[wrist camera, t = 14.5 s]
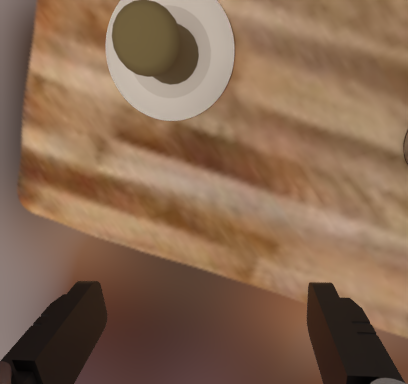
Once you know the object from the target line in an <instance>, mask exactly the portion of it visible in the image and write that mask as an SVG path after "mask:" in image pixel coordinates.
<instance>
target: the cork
mask: <svg viewBox="0 0 408 384" xmlns="http://www.w3.org/2000/svg"><path fill="white" fill-rule="evenodd" d="M112 41H113V47H114V50H115V52H116V54H117V56H118V58H119V60H120V61H121V62H122V63H123V64H124V65H125V67H126V68H127V69H129V70H130V71H132V72H134V73H135V74H137V75H142V76H146V77H152V76H153V77H154V78H155V79H157V80H158V81H160V82H162V83H165V84H169V85H172V84H179V83H181V82H183V81H186V80H187V79H188V78H189V77H190V76H191V75H192V74H193V72H194V70H195V69H196V67H197V63H198V58H199V53H198V45H197V43H196V40H195V38H194V36H193V35H192V34H191V33H190V31H189V30H188V29H186V28H185V27H183V26H182V25H180V24H178V23H177V22H176V20H175V18H174V17H173V16H172V15H171V13H170V12H169V11H168V10H167V8H165V7H164V6H162V5H161V4H159V3H157V2H154V1H150V0H136V1H132V2H131V3H129V4H127V5H125V6H124V7H123V8H122V9H121V10H120V12H119V13H118V14H117V16H116V18H115V21H114V23H113V28H112Z"/></svg>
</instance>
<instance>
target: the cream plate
mask: <svg viewBox="0 0 408 384" xmlns="http://www.w3.org/2000/svg"><path fill="white" fill-rule="evenodd" d="M132 1H136V0H121V1H120V2H119V4H118V5H117V6H116V8H115V10H114V12H113V14H112V16H111V19H110V22H109V25H108V30H107V34H106V57H107V63H108V67H109V71H110V74H111V76H112V79H113V81H114V83H115V85H116V87H117V88H118V90H119V91H120V93H121V94H122V96H123V97H124V98H125V99H126V100H127V101H128V102H129V103H130V104H131V105H132V106H133V107H134V108H136V109H137V110H139V111H140V112H142V113H144V114H145V115H147V116H150V117H153V118H156V119H160V120H166V121H179V120H185V119H188V118H192V117H194V116H196V115H198V114H200V113H202V112H203V111H205V110H207V109H208V108H209V107H210V106H211V105H213V104H214V103H215V102H216V100H217V99H218V98H219V97H220V96H221V94H222V93H223V91H224V90H225V88H226V86H227V84H228V82H229V79H230V76H231V73H232V69H233V64H234V38H233V33H232V29H231V25H230V23H229V20H228V17H227V16H226V14H225V12H224V10H223V8H222V7H221V5H220V4H219V3H218V1H217V0H150V1H154V2H157V3H159V4H161V5H162V6H164V7H165V8H167V10H168V11H169V12H170V13H171V15H172V16H173V17H174V18H175V20H176V22H177V23H178V24H180V25H182V26H183V27H185V28H186V29H188V30H189V31H190V33H191V34H192V35H193V36H194V38H195V40H196V43H197V45H198V53H199V58H198V63H197V67H196V69H195V70H194V72H193V74H192V75H191V76H190V77H189V78H188V79H187V80H186V81H183V82H181V83H179V84H172V85H169V84H165V83H162V82H160V81H158V80H157V79H155V78H154V77H153V76H152V77H146V76H142V75H137V74H135V73H134V72H132V71H130V70H129V69H127V68H126V67H125V65H124V64H123V63H122V62H121V61H120V60H119V58H118V56H117V54H116V52H115V50H114V47H113V41H112V28H113V23H114V21H115V18H116V16H117V14H118V13H119V12H120V10H121V9H122V8H123V7H124V6H125V5H127V4H129V3H131V2H132Z"/></svg>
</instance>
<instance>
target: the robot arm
mask: <svg viewBox="0 0 408 384" xmlns="http://www.w3.org/2000/svg"><path fill="white" fill-rule="evenodd" d="M404 155H405V159H406V161H407V163H408V133H407V135H406V139H405V143H404ZM106 322H107V310H106V306H105V302H104V298H103V294H102V289H101V285H100V283H99V282H98V281H78V282H77V283H76V284H75V285H74V286H73V287H72V288H71V289H70V291H69V292H68V293H67V294H64V295H62V296H61V297H59V298H58V299H57V300H55V301H54V302H52V303H51V304H50V305H49V306H48V307H47V308H46V310H45V311H44V312H43V313H42V314H41V317H39V318H38V319H37V320H36V321H35V322H34V324H33V326H31V327H30V328H29V329H28V330H27V331H26V332H25V334H24V335H23V336H22V337H21V338H20V339H19V340H18V342H17V343H16V344H15V345H14V346H13V347H12V348H11V350H10V351H9V352H8V353H7V354H6V355H5V356H4V358H3V359H2V360H1V361H0V384H74V383H75V381H76V379H77V377H78V375H79V374H80V372H81V370H82V368H83V367H84V365H85V363H86V361H87V359H88V357H89V356H90V354H91V352H92V350H93V348H94V347H95V345H96V343H97V341H98V340H99V338H100V336H101V334H102V332H103V331H104V328H105V326H106ZM307 326H308V332H309V336H310V340H311V343H312V347H313V350H314V354H315V357H316V360H317V364H318V367H319V370H320V374H321V377H322V381H323V384H406V383H405V382H404V380H403V379H402V377H401V375H400V373H399V372H398V370H397V368H396V366H395V365H394V363H393V361H392V360H391V358H390V356H389V354H388V353H387V351H386V349H385V347H384V346H383V344H382V342H381V341H380V339H379V337H378V336H377V335H376V332H375V330H374V328H373V326H372V325H371V324H370V321H369V319H368V318H367V316H366V314H365V313H364V311H363V309H362V308H361V307H360V306H359V305H357V304H356V303H355V302H354V301H353V300H352V299H350V298H340V297H339V295H338V293H337V291H336V289H335V287H334V285H333V284H332V283H309V286H308V303H307Z"/></svg>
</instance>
